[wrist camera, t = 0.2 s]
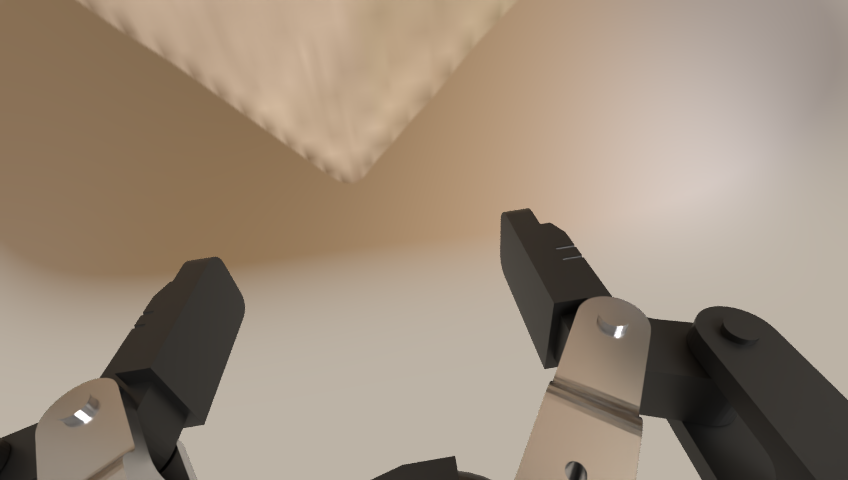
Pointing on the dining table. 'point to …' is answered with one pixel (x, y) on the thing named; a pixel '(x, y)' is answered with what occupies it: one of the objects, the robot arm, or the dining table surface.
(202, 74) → the dining table surface
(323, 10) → the dining table surface
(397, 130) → the dining table surface
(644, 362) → the robot arm
